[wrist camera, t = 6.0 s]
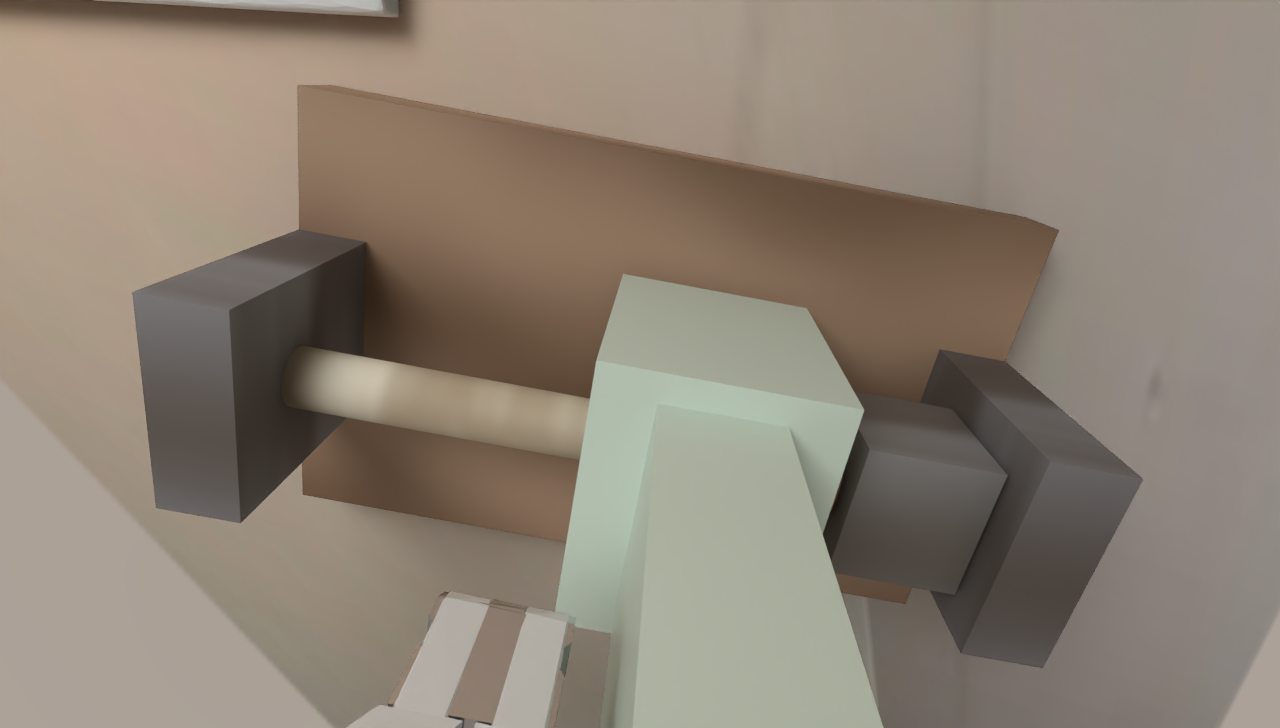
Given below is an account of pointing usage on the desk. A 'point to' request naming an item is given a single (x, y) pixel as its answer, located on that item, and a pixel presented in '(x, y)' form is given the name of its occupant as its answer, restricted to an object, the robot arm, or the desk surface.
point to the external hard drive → (294, 6)
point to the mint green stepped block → (714, 516)
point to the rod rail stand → (572, 336)
